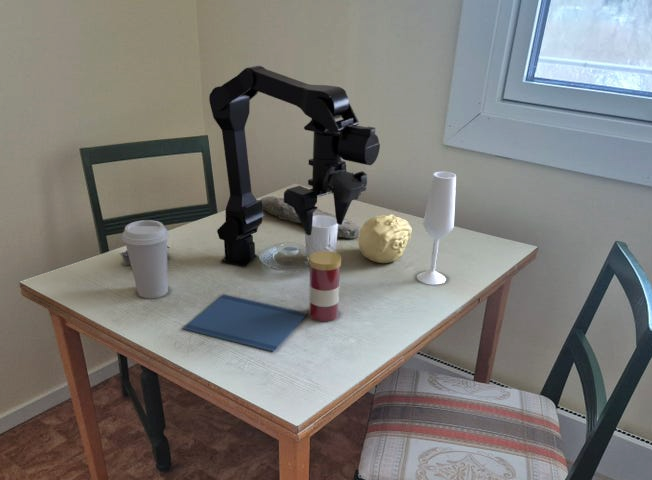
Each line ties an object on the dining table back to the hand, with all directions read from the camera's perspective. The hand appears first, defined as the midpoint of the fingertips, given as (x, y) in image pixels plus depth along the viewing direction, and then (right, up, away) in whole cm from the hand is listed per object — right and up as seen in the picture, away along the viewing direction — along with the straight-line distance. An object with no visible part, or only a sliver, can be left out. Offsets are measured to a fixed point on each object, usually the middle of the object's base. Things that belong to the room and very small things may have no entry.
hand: (324, 229), depth 137 cm
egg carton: (-42, -4, +18) cm, 46 cm away
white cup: (0, -4, +19) cm, 19 cm away
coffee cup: (-38, -13, +4) cm, 40 cm away
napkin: (-16, -20, -6) cm, 26 cm away
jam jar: (0, -18, -4) cm, 19 cm away
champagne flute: (+25, -9, +11) cm, 29 cm away
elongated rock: (-3, +10, +40) cm, 42 cm away
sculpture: (+15, -3, +21) cm, 26 cm away
